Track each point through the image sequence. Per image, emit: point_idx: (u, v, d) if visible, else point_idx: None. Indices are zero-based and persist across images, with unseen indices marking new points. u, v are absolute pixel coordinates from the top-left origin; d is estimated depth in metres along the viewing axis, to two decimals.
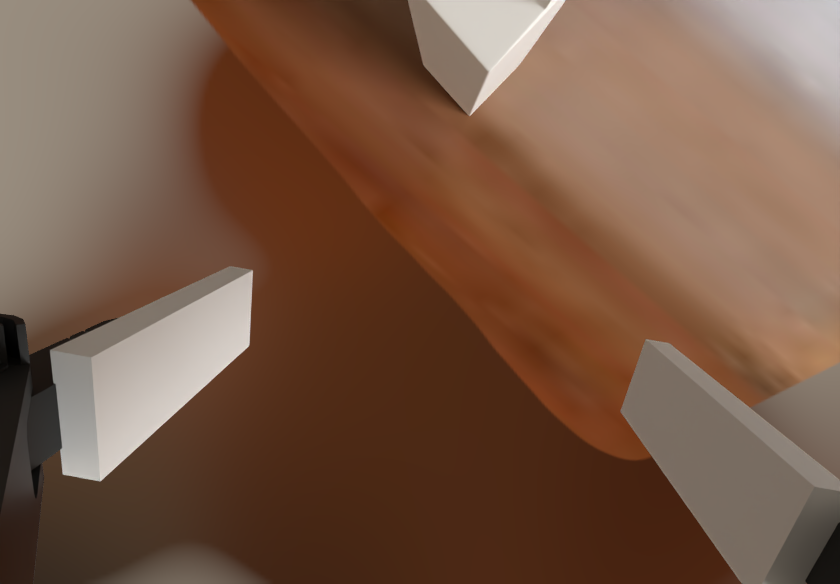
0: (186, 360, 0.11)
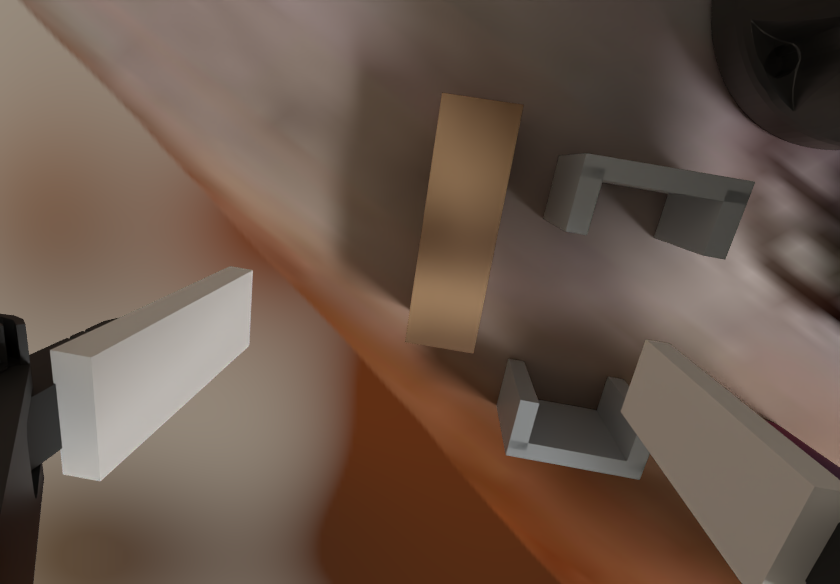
0: (186, 360, 0.11)
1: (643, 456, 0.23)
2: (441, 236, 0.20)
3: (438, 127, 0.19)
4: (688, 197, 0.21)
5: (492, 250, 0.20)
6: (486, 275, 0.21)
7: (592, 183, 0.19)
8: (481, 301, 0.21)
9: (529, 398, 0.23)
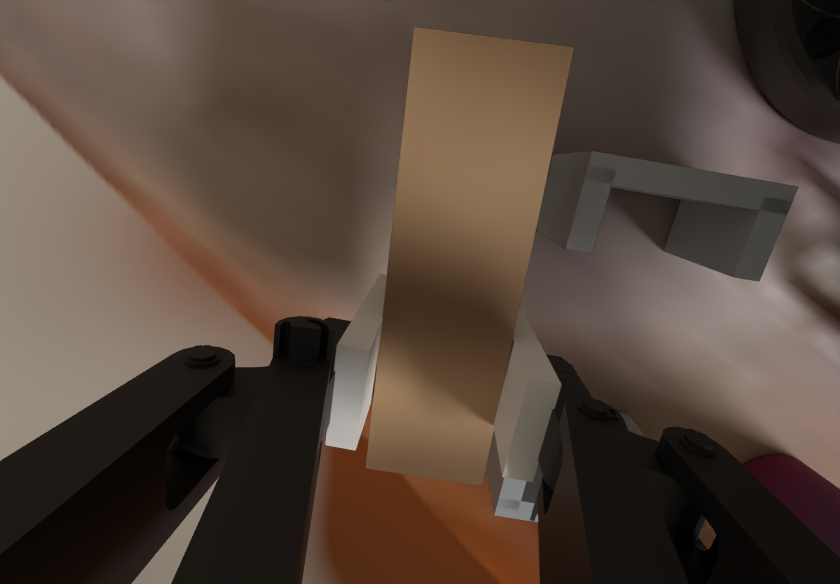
0: None
1: None
2: (422, 295, 0.11)
3: (409, 96, 0.10)
4: (708, 204, 0.18)
5: (512, 319, 0.11)
6: (503, 361, 0.12)
7: (599, 188, 0.15)
8: (494, 403, 0.12)
9: None
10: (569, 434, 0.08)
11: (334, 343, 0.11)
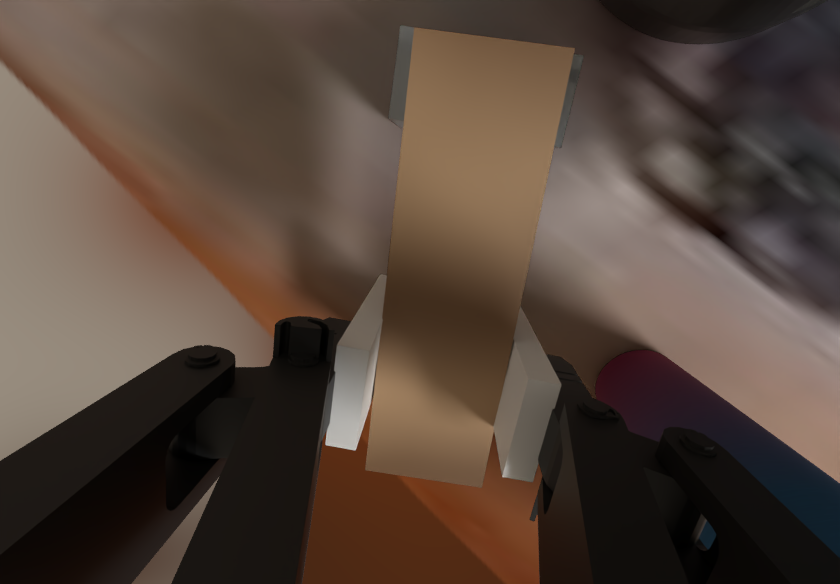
0: None
1: None
2: (422, 297, 0.11)
3: (409, 97, 0.10)
4: None
5: (513, 321, 0.11)
6: (503, 362, 0.12)
7: (410, 60, 0.17)
8: (494, 405, 0.12)
9: None
10: (569, 434, 0.08)
11: (334, 343, 0.11)
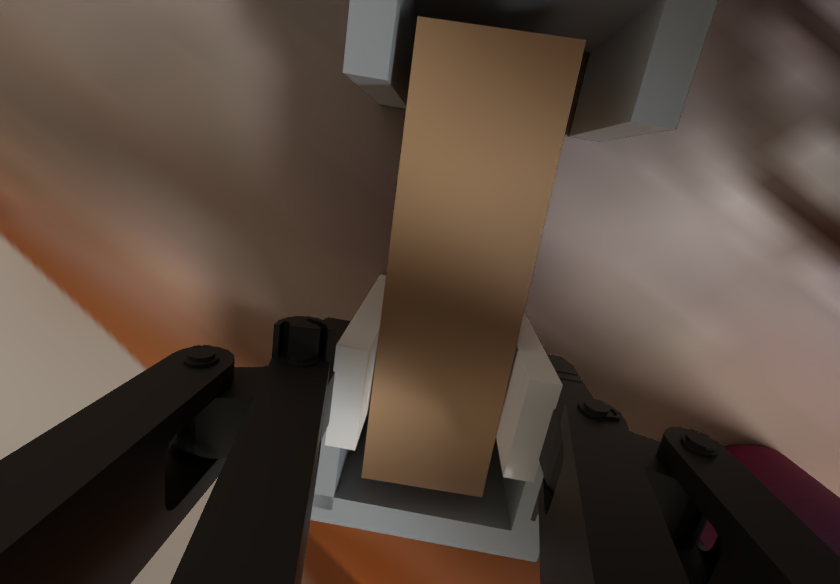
0: None
1: None
2: (422, 299, 0.11)
3: (411, 89, 0.09)
4: (614, 34, 0.11)
5: (517, 325, 0.11)
6: (506, 368, 0.11)
7: None
8: (496, 413, 0.12)
9: None
10: (570, 434, 0.08)
11: (334, 343, 0.11)
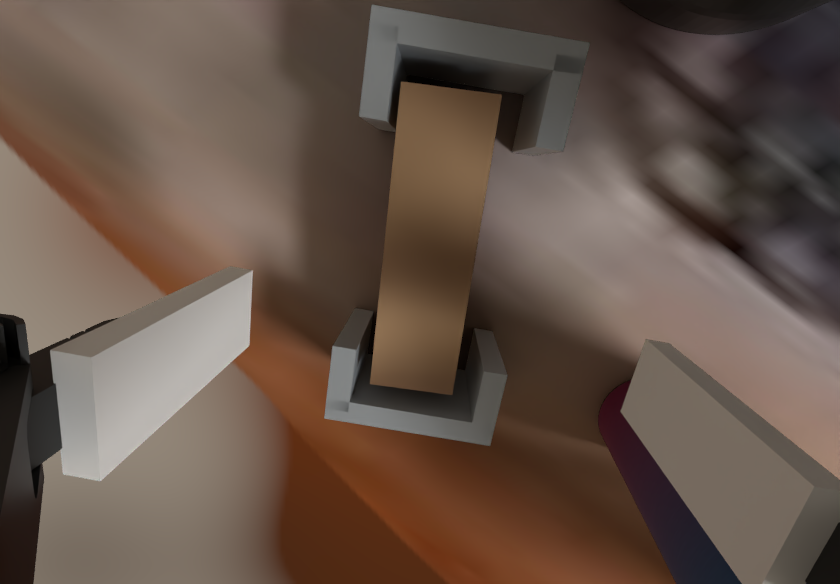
0: (186, 360, 0.11)
1: (492, 416, 0.18)
2: (408, 257, 0.17)
3: (398, 124, 0.15)
4: (534, 87, 0.17)
5: (469, 273, 0.17)
6: (464, 302, 0.17)
7: (384, 47, 0.14)
8: (459, 333, 0.17)
9: (347, 344, 0.18)
10: None
11: None
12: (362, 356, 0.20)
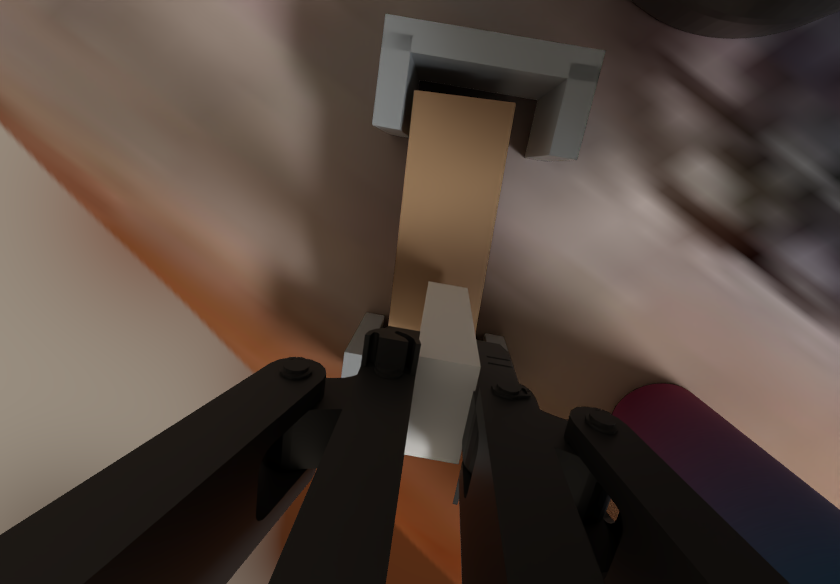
0: None
1: None
2: (420, 265, 0.17)
3: (411, 133, 0.15)
4: (548, 93, 0.17)
5: (482, 281, 0.17)
6: (476, 310, 0.17)
7: (397, 56, 0.14)
8: None
9: (359, 350, 0.18)
10: (483, 417, 0.08)
11: None
12: None
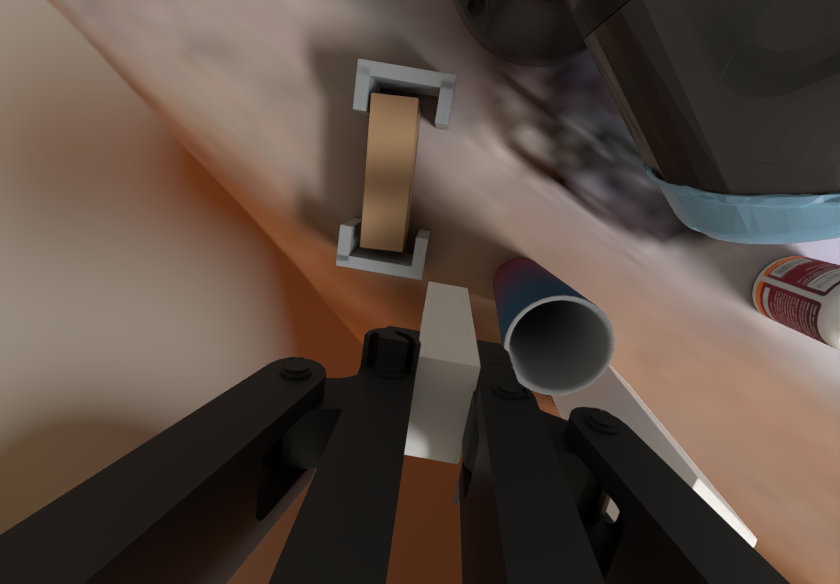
0: None
1: (421, 262, 0.36)
2: (377, 178, 0.34)
3: (370, 113, 0.33)
4: None
5: (407, 185, 0.34)
6: (405, 201, 0.34)
7: (363, 77, 0.32)
8: (404, 218, 0.35)
9: (347, 225, 0.35)
10: (483, 417, 0.08)
11: None
12: (356, 239, 0.38)
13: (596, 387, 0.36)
